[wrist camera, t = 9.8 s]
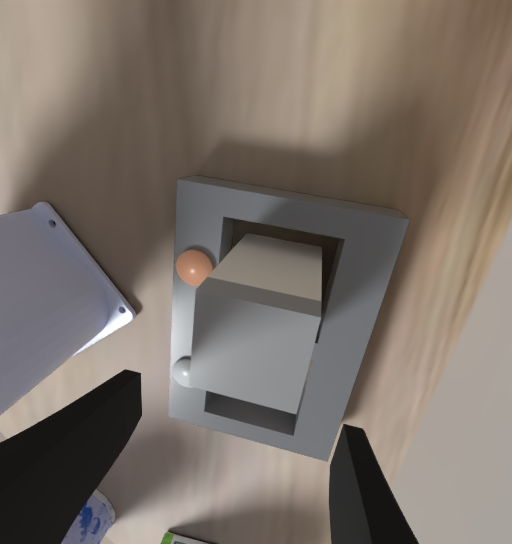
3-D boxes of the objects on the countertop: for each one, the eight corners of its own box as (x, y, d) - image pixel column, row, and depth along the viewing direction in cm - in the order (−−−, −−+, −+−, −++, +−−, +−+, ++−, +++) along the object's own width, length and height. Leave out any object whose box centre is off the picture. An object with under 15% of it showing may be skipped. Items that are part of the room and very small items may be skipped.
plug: (246, 232, 18) (195, 289, 11) (322, 247, 18) (321, 317, 10) (238, 298, 20) (189, 385, 13) (306, 313, 19) (296, 414, 12)
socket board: (196, 175, 17) (174, 179, 15) (397, 209, 16) (411, 221, 13) (183, 391, 24) (166, 420, 21) (327, 429, 22) (327, 466, 20)
